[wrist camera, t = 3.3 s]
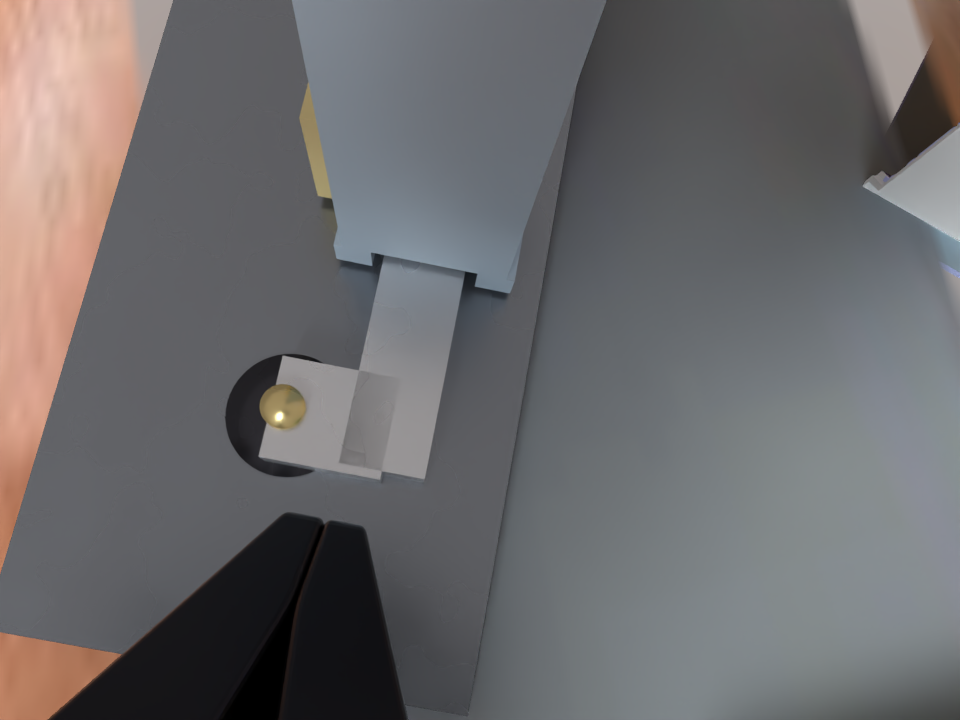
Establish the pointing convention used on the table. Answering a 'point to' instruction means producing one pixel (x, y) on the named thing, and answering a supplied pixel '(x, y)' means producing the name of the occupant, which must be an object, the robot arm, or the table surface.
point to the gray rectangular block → (438, 121)
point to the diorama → (927, 163)
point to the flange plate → (269, 376)
